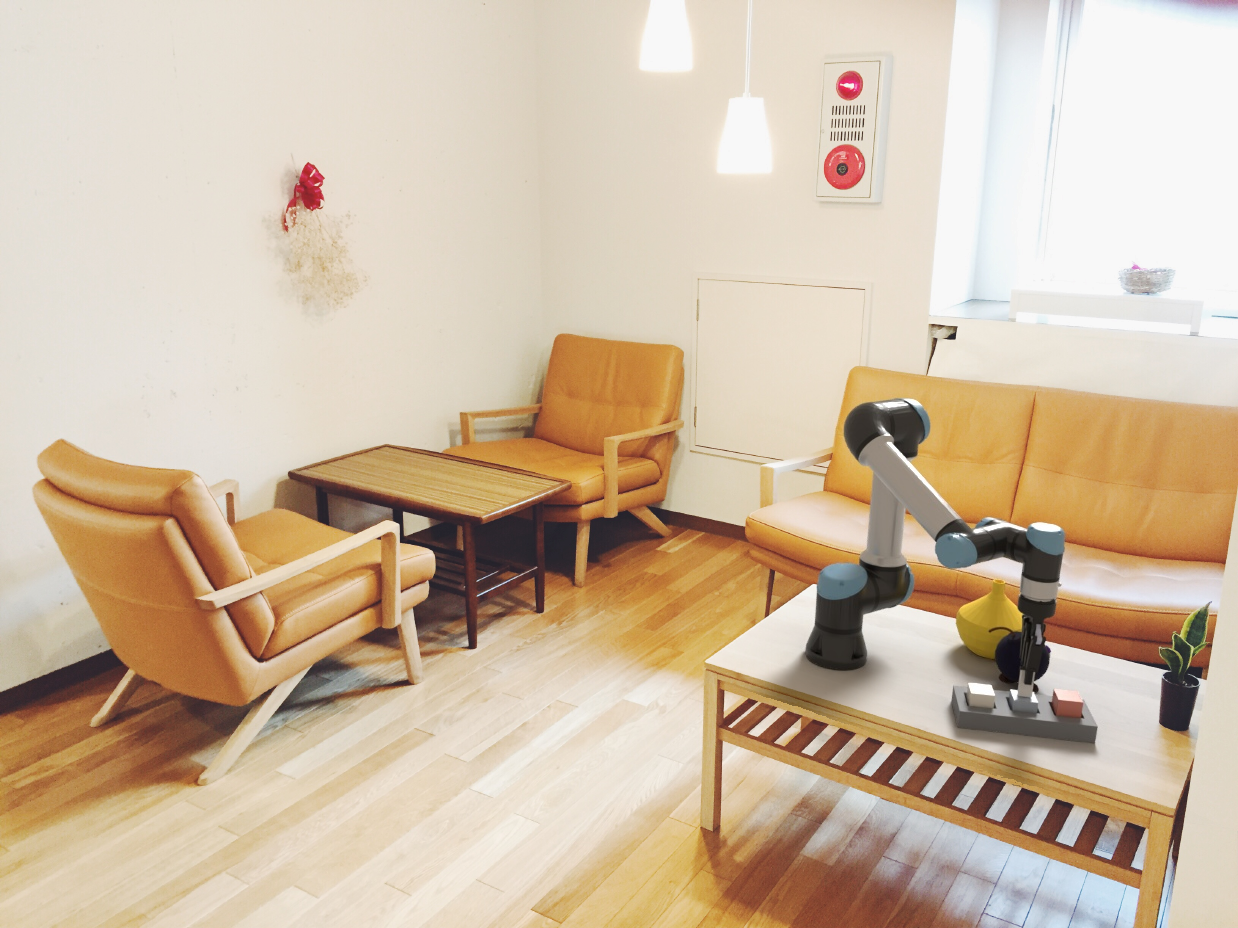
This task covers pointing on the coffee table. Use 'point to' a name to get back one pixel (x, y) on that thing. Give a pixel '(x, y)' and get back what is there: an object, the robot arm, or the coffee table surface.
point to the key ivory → (980, 695)
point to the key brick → (1067, 703)
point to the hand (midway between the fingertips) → (1024, 694)
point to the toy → (1016, 658)
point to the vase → (988, 620)
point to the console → (1023, 718)
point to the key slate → (1022, 702)
